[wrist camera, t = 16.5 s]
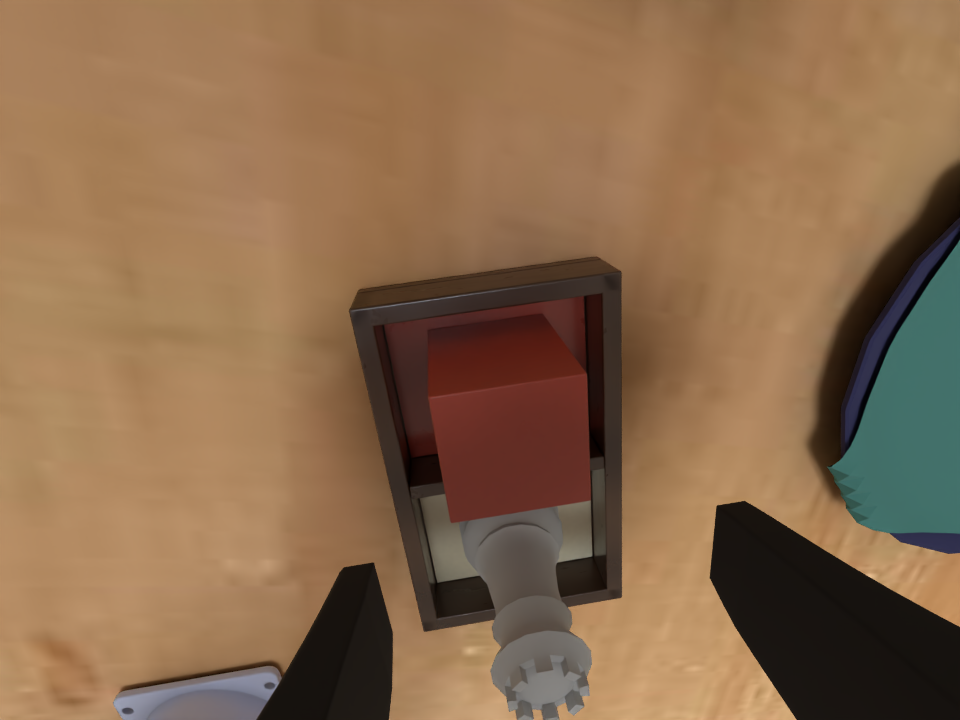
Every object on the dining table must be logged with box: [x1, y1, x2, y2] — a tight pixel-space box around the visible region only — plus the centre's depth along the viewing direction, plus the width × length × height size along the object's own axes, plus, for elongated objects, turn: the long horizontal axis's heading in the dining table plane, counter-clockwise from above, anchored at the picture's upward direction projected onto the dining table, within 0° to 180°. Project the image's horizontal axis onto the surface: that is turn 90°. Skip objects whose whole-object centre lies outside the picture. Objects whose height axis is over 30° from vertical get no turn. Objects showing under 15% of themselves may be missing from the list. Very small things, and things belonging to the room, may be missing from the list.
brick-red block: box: [428, 314, 591, 523], centre depth 17 cm, size 4×4×6 cm
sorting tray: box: [349, 257, 622, 632], centre depth 20 cm, size 15×9×2 cm, turn 7°
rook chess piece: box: [459, 506, 592, 720], centre depth 18 cm, size 4×4×8 cm
